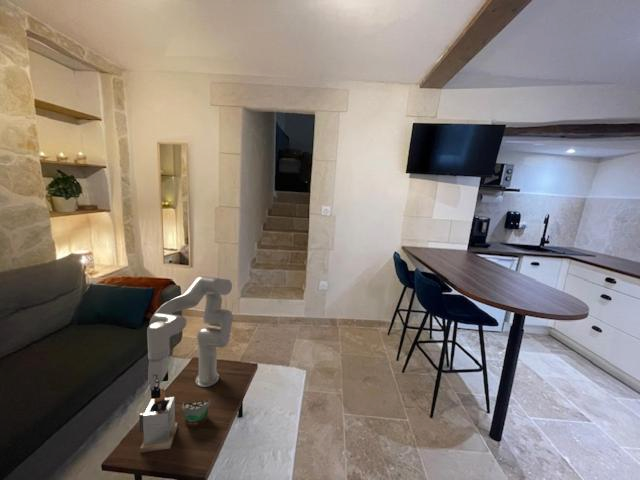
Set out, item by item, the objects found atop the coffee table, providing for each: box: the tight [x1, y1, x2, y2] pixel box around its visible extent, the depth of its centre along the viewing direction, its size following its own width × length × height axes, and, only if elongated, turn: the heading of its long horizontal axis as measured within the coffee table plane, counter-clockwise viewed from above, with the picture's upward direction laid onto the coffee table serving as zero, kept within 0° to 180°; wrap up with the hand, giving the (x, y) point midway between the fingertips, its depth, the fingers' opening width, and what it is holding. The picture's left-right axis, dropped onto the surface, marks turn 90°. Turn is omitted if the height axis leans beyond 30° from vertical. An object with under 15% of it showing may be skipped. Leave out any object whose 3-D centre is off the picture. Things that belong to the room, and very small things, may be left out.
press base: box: [139, 421, 179, 454], centre depth 113 cm, size 11×11×2 cm
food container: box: [181, 398, 211, 429], centre depth 121 cm, size 12×6×10 cm, turn 105°
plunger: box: [153, 388, 166, 411], centre depth 111 cm, size 5×5×20 cm
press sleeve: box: [139, 396, 176, 446], centre depth 111 cm, size 9×12×14 cm
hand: (160, 388), depth 110 cm, fingers open, 9 cm apart
